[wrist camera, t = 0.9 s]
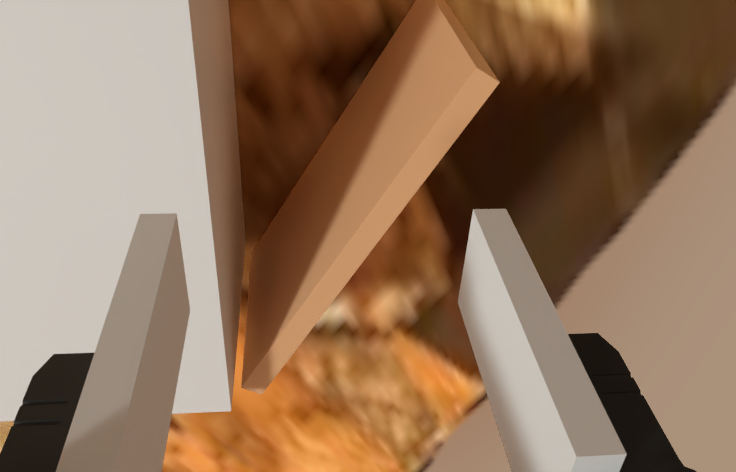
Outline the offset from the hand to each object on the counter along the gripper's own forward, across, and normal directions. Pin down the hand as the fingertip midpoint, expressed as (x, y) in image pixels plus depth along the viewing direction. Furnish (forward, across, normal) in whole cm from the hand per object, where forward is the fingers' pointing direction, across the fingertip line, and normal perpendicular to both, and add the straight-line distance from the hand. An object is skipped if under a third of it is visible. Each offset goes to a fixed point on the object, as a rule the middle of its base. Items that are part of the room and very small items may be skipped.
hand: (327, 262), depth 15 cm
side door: (+19, +2, -7) cm, 20 cm away
